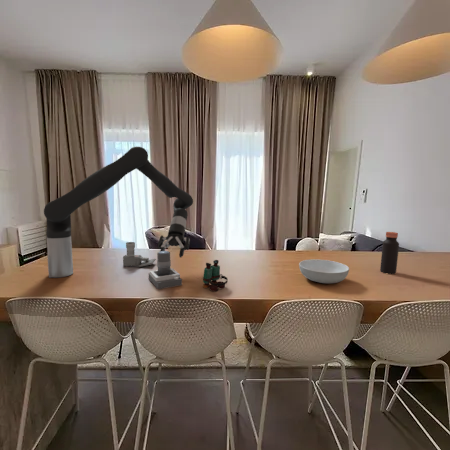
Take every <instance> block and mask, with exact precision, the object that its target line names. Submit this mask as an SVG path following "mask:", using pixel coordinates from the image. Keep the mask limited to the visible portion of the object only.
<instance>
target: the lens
mask: <svg viewBox="0 0 450 450" xmlns="http://www.w3.org/2000/svg"><path fill="white" fill-rule="evenodd" d="M156 254H157V260H156V267H157V270H158V277H159V276H166V275H171V274H170V268H171V265H172V263H171V252H170V251H168V250H165V251H160V250H159V251H158V252H157V253H156Z"/></svg>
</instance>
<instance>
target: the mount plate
mask: <svg viewBox="0 0 450 450" xmlns="http://www.w3.org/2000/svg"><path fill="white" fill-rule="evenodd" d="M170 274H171V275H166V276H159V277H158V269H156V270H149V272H148V280H149V281H150V282H151V283H152V284H153V286H155V288H156V289H157V290H161V289H166V288H172V287H179V286H182V285H183V279H182V278H181V273H179V272H178V271H177V270H176V269H174V268H172V267H170Z"/></svg>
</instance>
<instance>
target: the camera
mask: <svg viewBox="0 0 450 450" xmlns="http://www.w3.org/2000/svg"><path fill="white" fill-rule="evenodd" d="M125 248H126V254H125V255H123V257H122V266H123V267H137V268H142V267H145V266H149V265H150V266H151V265H152V264H154V262H155V261H157V260H156V258H152V259H150V258H149V257H143V256H142V255H141V254H135V248H136V242H134V241H130V242H129V241H127V242H126V243H125Z"/></svg>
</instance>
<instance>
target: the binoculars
mask: <svg viewBox="0 0 450 450" xmlns="http://www.w3.org/2000/svg"><path fill="white" fill-rule="evenodd" d="M219 261H220V260H219V259H214V260H213V265H212V263H210V262H205V266H206V267H204V269H203V276H202V282H203V284H202V288H204V289H209V290H210V291H212V292H218V289H225V288H226V284H227V283H228V279H229V278H228V277H227V276H225V275H223V274H222V273H220V272H221V265H218V264H219ZM222 279H224V280H225V281H222ZM218 280H221V281H218Z"/></svg>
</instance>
